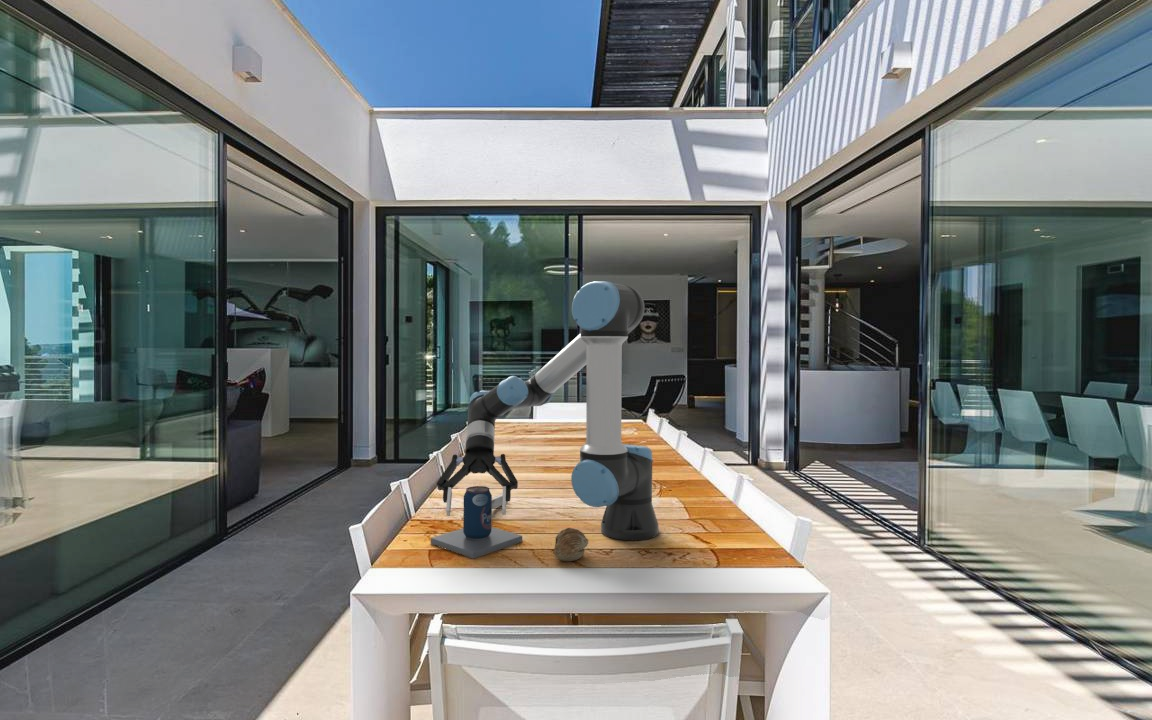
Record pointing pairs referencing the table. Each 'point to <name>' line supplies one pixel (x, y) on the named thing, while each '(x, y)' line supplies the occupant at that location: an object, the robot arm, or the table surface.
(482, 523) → the soda can
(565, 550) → the seashell
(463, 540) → the slate board
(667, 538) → the table surface
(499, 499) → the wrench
